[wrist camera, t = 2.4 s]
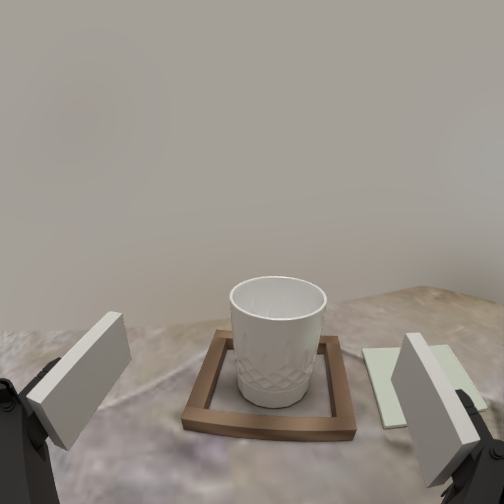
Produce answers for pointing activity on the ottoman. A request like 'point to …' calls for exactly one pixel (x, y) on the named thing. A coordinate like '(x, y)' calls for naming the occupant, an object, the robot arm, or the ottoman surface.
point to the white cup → (275, 337)
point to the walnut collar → (263, 425)
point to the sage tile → (380, 373)
